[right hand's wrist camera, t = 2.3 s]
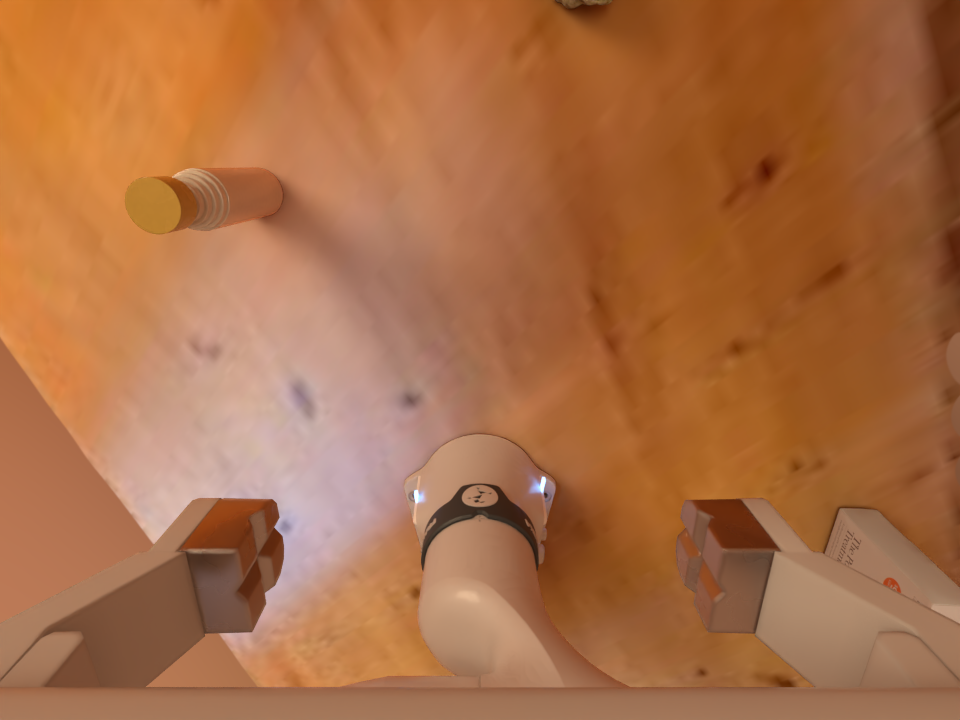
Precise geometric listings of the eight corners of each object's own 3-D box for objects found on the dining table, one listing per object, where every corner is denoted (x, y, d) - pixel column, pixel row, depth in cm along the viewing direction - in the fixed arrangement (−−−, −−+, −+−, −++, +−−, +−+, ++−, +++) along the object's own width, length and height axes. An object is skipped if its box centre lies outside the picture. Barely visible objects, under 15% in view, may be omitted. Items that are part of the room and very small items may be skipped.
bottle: (290, 182, 54) (200, 191, 37) (272, 225, 55) (178, 253, 38) (245, 158, 53) (131, 155, 36) (228, 202, 55) (112, 219, 37)
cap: (204, 193, 39) (188, 195, 36) (188, 239, 40) (171, 244, 38) (153, 166, 38) (133, 166, 36) (138, 214, 39) (118, 217, 37)
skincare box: (833, 506, 67) (934, 603, 52) (876, 507, 67) (989, 605, 52) (793, 632, 75) (872, 749, 60) (832, 633, 75) (919, 750, 60)
